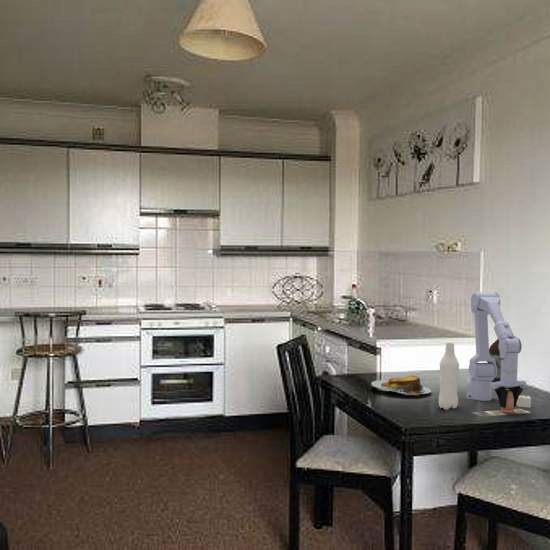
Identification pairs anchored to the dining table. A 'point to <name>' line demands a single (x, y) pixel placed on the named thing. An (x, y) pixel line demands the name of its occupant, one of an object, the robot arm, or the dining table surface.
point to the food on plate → (402, 385)
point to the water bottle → (448, 378)
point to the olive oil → (496, 359)
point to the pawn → (509, 404)
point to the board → (499, 412)
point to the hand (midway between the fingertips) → (507, 406)
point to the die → (524, 401)
